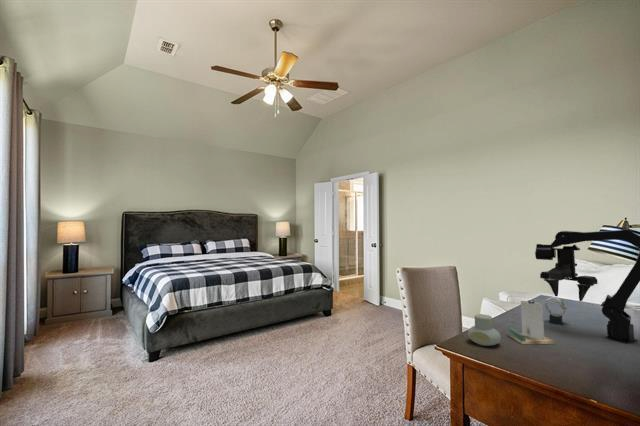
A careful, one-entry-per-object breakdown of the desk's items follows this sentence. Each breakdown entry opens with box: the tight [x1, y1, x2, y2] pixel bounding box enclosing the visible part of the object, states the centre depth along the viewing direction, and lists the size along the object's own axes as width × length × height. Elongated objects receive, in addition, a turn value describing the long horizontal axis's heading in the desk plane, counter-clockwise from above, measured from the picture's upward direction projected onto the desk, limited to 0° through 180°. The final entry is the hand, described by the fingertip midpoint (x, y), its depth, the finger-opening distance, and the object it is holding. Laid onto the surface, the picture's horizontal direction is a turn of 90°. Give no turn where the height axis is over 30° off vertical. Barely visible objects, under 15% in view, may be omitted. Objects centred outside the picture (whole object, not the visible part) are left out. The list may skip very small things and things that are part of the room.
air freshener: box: [467, 313, 502, 347], centre depth 115 cm, size 11×8×10 cm
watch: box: [544, 296, 568, 326], centre depth 138 cm, size 6×8×11 cm
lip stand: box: [506, 327, 556, 345], centre depth 118 cm, size 12×9×3 cm
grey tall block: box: [520, 300, 545, 339], centre depth 118 cm, size 5×5×14 cm
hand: (568, 298), depth 128 cm, fingers open, 9 cm apart
